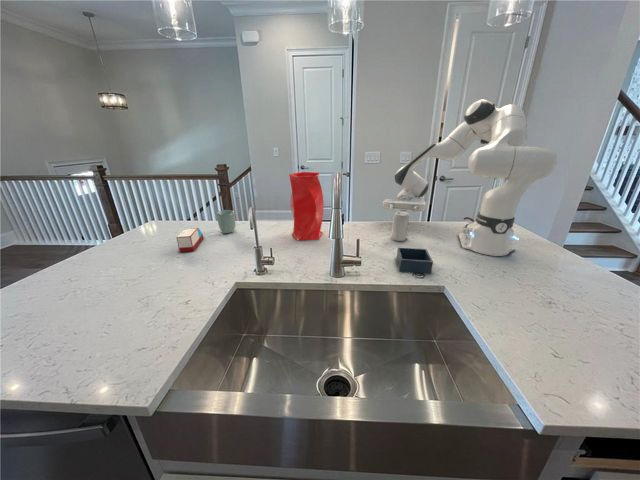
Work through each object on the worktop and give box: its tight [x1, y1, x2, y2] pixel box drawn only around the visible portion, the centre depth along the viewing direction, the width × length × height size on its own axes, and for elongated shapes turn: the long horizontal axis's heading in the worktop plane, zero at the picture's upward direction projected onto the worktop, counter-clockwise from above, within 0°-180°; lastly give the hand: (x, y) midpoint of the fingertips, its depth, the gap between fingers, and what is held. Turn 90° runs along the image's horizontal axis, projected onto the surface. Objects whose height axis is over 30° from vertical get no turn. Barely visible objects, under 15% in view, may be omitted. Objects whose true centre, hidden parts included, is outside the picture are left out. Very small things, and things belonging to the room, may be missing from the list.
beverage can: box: [391, 211, 410, 242], centre depth 113 cm, size 6×6×12 cm
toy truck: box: [176, 227, 204, 253], centre depth 111 cm, size 6×15×7 cm, turn 8°
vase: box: [288, 171, 324, 241], centre depth 115 cm, size 15×14×28 cm
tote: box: [396, 247, 434, 275], centre depth 91 cm, size 10×10×5 cm
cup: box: [216, 209, 237, 234], centre depth 125 cm, size 8×8×10 cm
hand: (402, 209), depth 122 cm, fingers open, 8 cm apart
